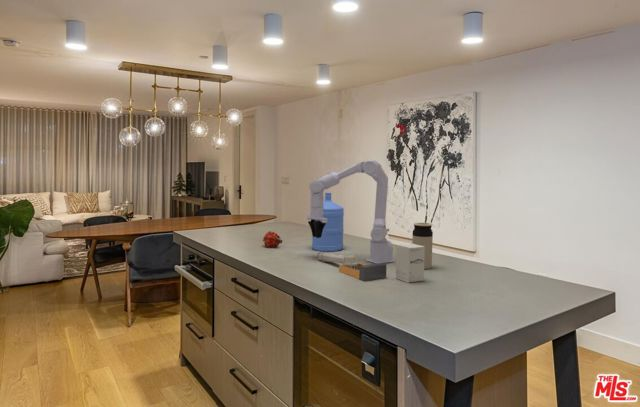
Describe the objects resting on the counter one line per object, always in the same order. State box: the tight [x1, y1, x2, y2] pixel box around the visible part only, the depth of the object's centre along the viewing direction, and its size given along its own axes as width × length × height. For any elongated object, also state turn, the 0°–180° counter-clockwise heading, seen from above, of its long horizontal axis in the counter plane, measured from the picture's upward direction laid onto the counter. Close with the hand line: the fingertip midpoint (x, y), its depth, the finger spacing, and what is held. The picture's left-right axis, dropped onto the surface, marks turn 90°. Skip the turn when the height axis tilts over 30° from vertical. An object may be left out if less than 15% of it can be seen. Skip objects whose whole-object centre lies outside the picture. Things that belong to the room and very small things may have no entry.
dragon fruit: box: [262, 230, 283, 249], centre depth 221 cm, size 8×8×12 cm
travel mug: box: [411, 222, 434, 270], centre depth 177 cm, size 8×8×18 cm
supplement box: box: [395, 243, 425, 284], centre depth 157 cm, size 7×7×13 cm
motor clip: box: [338, 262, 387, 282], centre depth 165 cm, size 10×17×5 cm, turn 30°
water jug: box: [311, 192, 345, 253], centre depth 216 cm, size 16×16×28 cm
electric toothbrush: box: [317, 251, 359, 270], centre depth 180 cm, size 5×7×25 cm
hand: (316, 237), depth 194 cm, fingers closed
